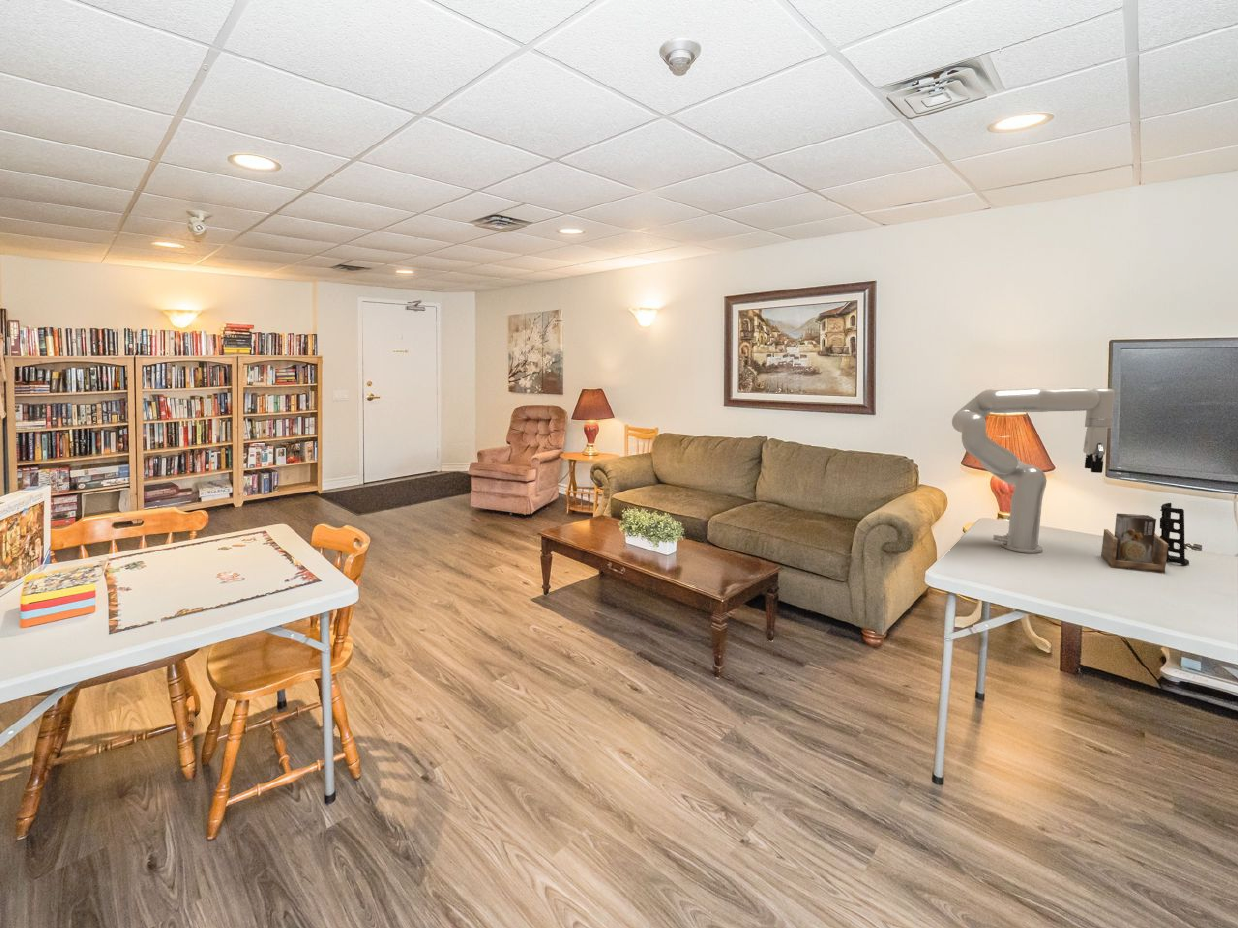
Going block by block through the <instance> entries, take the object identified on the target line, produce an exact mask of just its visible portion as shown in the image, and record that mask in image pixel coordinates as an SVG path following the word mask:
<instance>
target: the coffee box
mask: <svg viewBox="0 0 1238 928" xmlns="http://www.w3.org/2000/svg"><path fill="white" fill-rule="evenodd" d="M1156 522H1157V519H1156V518H1155V517H1153V516H1151V515H1149V514H1148V515H1146V514H1134V513H1133V514H1132V513H1131V514H1130V513H1116V518H1115V528H1114V536H1115V537H1116V538H1117V539H1118V543H1117V552H1116V560H1120V561H1130V562H1139V563H1149V564H1151V563H1152V553H1153V544H1154V534H1156V532H1155V531H1156V524H1157V523H1156Z"/></svg>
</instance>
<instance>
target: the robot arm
mask: <svg viewBox="0 0 1238 928" xmlns="http://www.w3.org/2000/svg"><path fill="white" fill-rule="evenodd" d="M1115 399H1116V391H1115V390H1114V389H1112V388H1092V389H1091V388H1084V387H1083V388H1080V387H1070V388H1067V389H1047V388H1016V389H1015V388H1014V389H1013V388H1012V389H985V390H983V391H981V392H980V393H978V394H977V395H976V396H975V397H973V398H972V399H971V400H969V402H967V403H966V404H965V405H964V406H962V407H961V408H960V409H959V410H957V412H956V413H955V414H954V415H953V417H952V419H951V426H952V428H953V429H954V430H955V431H956V432H959V433H961V443H962V446H963V449H965V451H966V452H967V453H968V454H970V455H971V456H972V457H973V458H974V459H976V460H978V461H979V462H980V464H981V467H983V469H985V471H986V470H987V471H988V472H990V473H991V474H992V475H994V476H996V477H997V478H999V480H1002V481H1003V482H1005V483H1007V484H1008V485H1010V486H1012V487H1014V489H1013V492H1012V494H1011V500H1010V508H1009V510H1010V511H1009V520H1008V533H1006V534H1003V535H997V534H993V539H992V540H993V541H997V542H1002V544H1001V546H1002V547H1003V548H1004V549H1007V550H1009V551H1013V552H1019V553H1026V554H1027V553H1028V554H1038V553H1041V552H1042V551H1043V547H1042V546H1041V545H1040V544H1038V543H1039V535H1040V525H1041V515H1042V505H1043V497H1044V494H1045V489H1046V486H1047V475H1046V474H1045V472H1044V471H1043V470H1042V469H1040V468H1039V467H1037V466H1035V465H1032V464H1028V463H1025V462H1023V461H1022V460H1020V459H1018V457H1017V456H1016V455H1015V454H1014V452H1012V451H1010V450H1009V449H1007V448H1005V447H1004V446H1002V445H1000V444H998V442H996V441H994V440H993V439H992V438H990V437H989V436H988V435H987V421H986V419H985V418H986V417H987V416H988V415H990V413H993V414H1010V413H1013V414H1014V413H1044V412H1045V413H1047V412H1075V411H1076V412H1078V411H1079V412H1081V411H1086V412H1085V419H1084V420H1085V421H1084V428H1086V430H1085V437H1084V444H1083V450H1082V451H1083V453H1084V454H1086V455H1085V461H1084V462H1085V463H1084V468H1085V469H1090V472H1091V473H1096V474H1097V473H1100V474H1102V473H1103V468H1104V466H1103V465H1104V455H1106V451H1107V442H1108V429H1112V425H1113V415H1114V408H1115V407H1114V406H1115Z"/></svg>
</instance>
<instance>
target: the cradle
mask: <svg viewBox="0 0 1238 928" xmlns="http://www.w3.org/2000/svg"><path fill="white" fill-rule="evenodd" d="M1117 543H1118V539H1117V538H1116V537H1115V534H1113V533H1112V532H1111V530H1109V529H1106V528H1103V536H1102V543H1101V555H1100V556H1101V558H1102V559H1103V560H1104V561H1105V563H1107V564H1108V566H1109V567H1110V568H1113V569H1120V570H1121V569H1123V570H1131V571H1139V572H1140V571H1141V572H1148V573H1149V572H1150V573H1158V574H1165V572H1166V565H1167V564H1166V563H1167V561H1166V558H1167V551H1168V543H1166V542H1165V541H1164V540H1163V539H1161V538H1160V536H1159V535H1158V534H1157V533H1155V534H1154V544H1153V553H1152V563H1151V564H1149V563H1139V562H1130V561H1120V560H1116V552H1117Z"/></svg>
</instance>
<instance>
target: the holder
mask: <svg viewBox="0 0 1238 928" xmlns="http://www.w3.org/2000/svg"><path fill="white" fill-rule="evenodd" d="M1160 507H1161V508H1160V512H1161V517H1160V518H1159V529H1161V532H1160V534H1161V535H1160V536H1159V537H1160V538H1161V539H1163V540H1164V541H1165V542H1166V543H1168V551H1167V558H1166V562H1170V563H1175V564H1180V565H1181V566H1183V567H1186V566H1188V565H1189V564H1190V560H1189V559H1188V558H1185V512H1184V511H1185V510H1184V509H1183V508H1176V507H1175V508H1174V507H1172V502H1166V503H1163V504H1162V505H1161V506H1160ZM1172 513H1174V514H1177V515H1179V518H1172ZM1175 524H1178V525H1179V526H1178V527H1179V528H1175ZM1171 533H1175V534H1178V535H1179V539H1178V538H1173V537H1171ZM1175 543H1176V544H1179V548H1176V547H1175ZM1169 552H1172V553H1176V554H1179V556H1178V555H1177V556H1176V555H1172V554H1170V553H1169Z"/></svg>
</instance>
